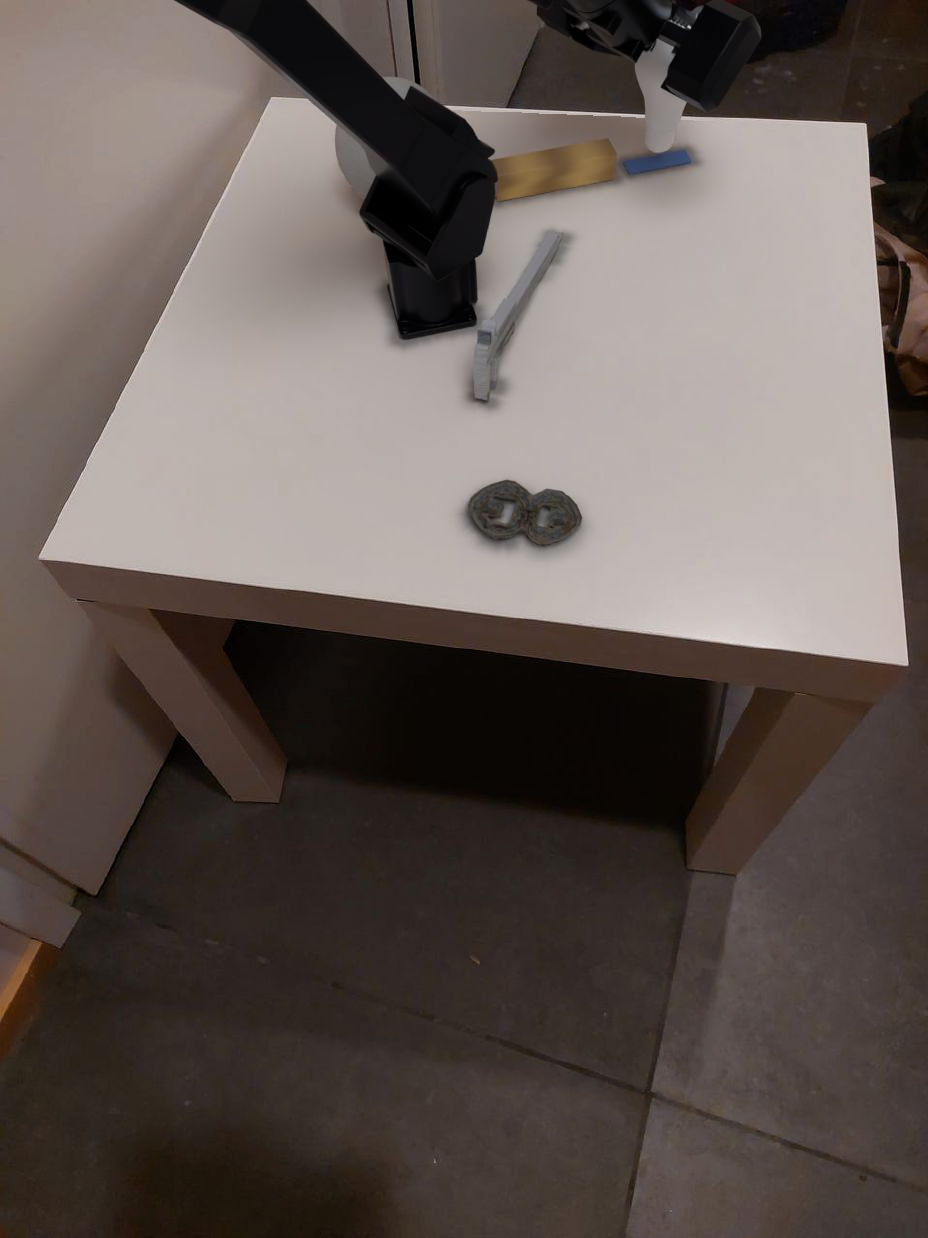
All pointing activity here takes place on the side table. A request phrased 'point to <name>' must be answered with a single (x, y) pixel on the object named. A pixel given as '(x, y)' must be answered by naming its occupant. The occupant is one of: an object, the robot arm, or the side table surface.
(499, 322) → the caliper
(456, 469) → the side table surface
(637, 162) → the tape mark
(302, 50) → the robot arm
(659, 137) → the lightbulb
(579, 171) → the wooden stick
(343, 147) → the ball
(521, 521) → the corroded twin loop
